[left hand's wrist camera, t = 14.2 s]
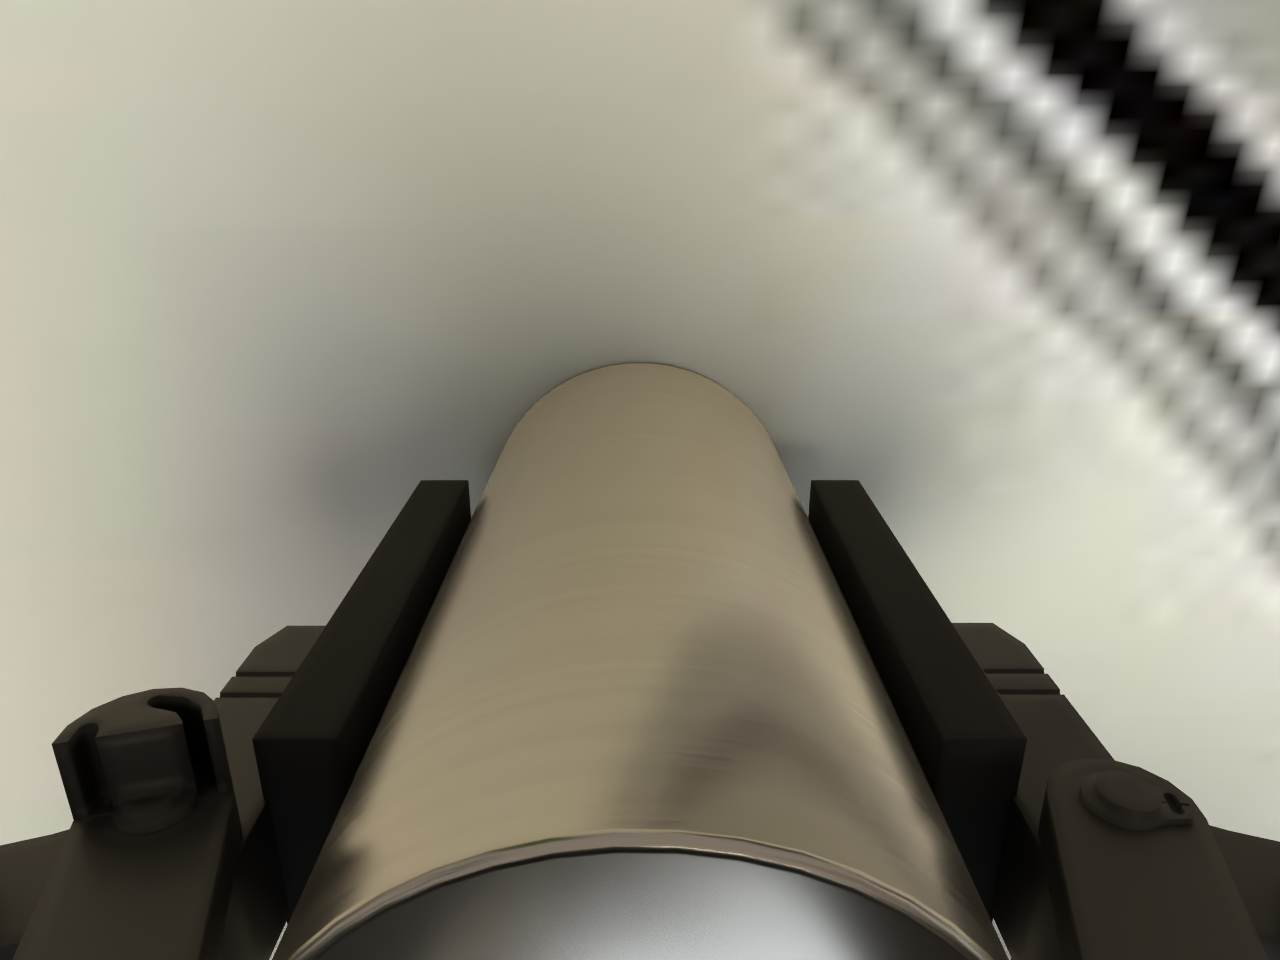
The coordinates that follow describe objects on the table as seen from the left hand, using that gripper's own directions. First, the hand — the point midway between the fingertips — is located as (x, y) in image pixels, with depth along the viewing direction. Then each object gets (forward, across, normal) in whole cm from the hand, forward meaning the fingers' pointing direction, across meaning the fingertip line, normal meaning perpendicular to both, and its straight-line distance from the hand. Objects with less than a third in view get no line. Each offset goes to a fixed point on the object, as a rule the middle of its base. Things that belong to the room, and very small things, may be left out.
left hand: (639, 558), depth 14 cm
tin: (+2, 0, 0) cm, 2 cm away
